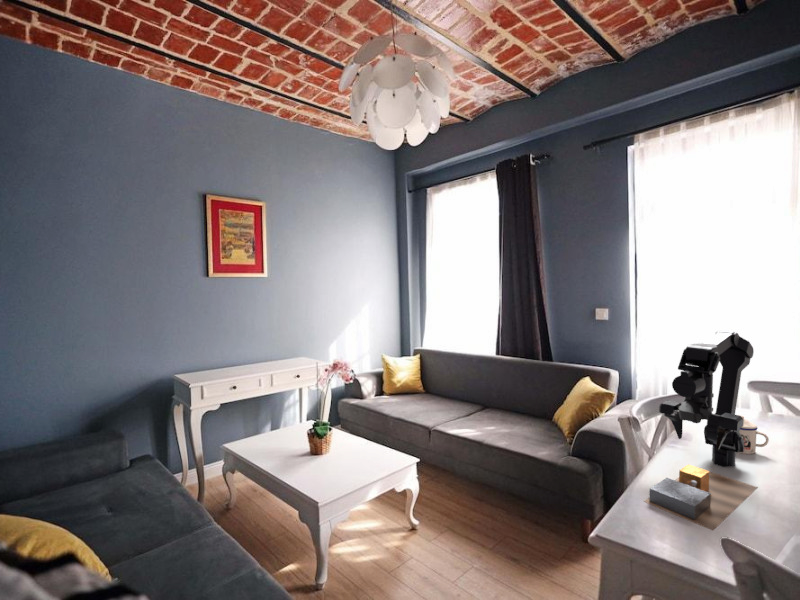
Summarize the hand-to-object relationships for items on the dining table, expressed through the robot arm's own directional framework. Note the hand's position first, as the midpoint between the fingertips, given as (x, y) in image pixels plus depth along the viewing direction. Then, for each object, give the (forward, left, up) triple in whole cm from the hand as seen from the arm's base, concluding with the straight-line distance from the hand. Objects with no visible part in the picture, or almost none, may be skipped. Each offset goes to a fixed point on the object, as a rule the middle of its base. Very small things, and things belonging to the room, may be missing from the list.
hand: (698, 443), depth 117 cm
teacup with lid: (-39, +1, -12) cm, 41 cm away
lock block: (+7, +2, -10) cm, 13 cm away
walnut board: (+9, +4, -12) cm, 15 cm away
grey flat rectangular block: (+13, +3, -10) cm, 17 cm away
